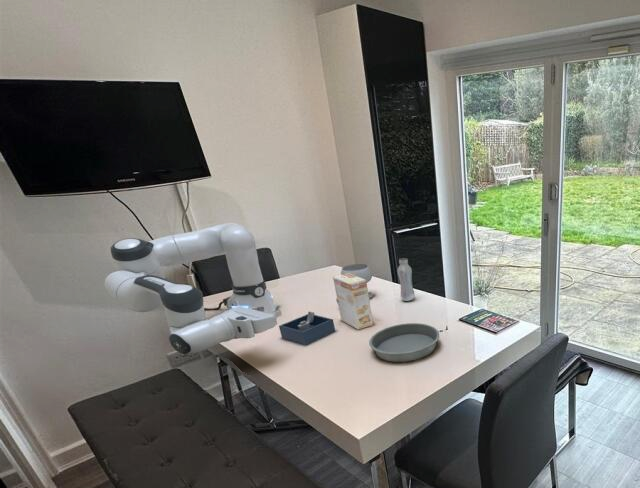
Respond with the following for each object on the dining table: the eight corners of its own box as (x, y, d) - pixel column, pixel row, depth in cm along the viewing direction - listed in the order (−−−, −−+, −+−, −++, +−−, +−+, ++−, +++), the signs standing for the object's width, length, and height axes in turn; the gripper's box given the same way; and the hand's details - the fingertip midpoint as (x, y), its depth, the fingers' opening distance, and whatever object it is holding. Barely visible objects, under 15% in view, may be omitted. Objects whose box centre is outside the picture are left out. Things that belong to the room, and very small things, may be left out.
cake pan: (383, 333, 160) (382, 322, 158) (445, 333, 159) (444, 322, 158) (360, 364, 138) (358, 352, 136) (432, 365, 137) (431, 353, 135)
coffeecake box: (374, 324, 168) (366, 279, 160) (357, 330, 163) (349, 283, 155) (356, 315, 177) (348, 272, 169) (340, 320, 172) (331, 276, 165)
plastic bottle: (418, 299, 195) (413, 258, 187) (407, 303, 189) (402, 261, 181) (408, 296, 198) (403, 256, 190) (398, 301, 193) (392, 259, 185)
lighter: (302, 336, 156) (298, 317, 153) (299, 335, 157) (295, 316, 154) (318, 329, 162) (314, 311, 159) (315, 328, 163) (311, 310, 160)
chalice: (347, 304, 189) (341, 273, 183) (342, 295, 201) (337, 266, 195) (378, 298, 196) (373, 268, 190) (371, 290, 207) (367, 261, 201)
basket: (282, 338, 157) (278, 325, 155) (312, 325, 168) (309, 313, 166) (305, 345, 151) (302, 332, 149) (335, 331, 162) (332, 319, 160)
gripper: (216, 327, 138) (255, 313, 150) (253, 339, 130) (292, 323, 141) (210, 310, 136) (250, 297, 147) (248, 321, 127) (288, 306, 138)
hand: (271, 310), depth 144 cm, fingers open, 8 cm apart
